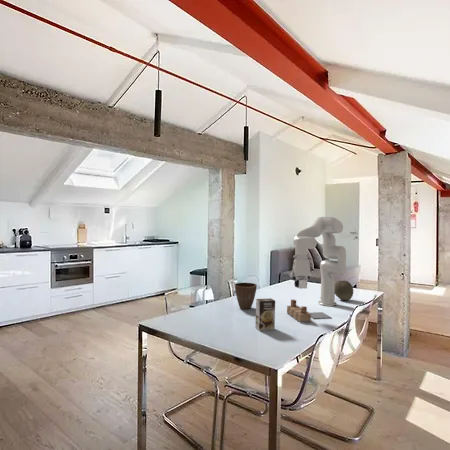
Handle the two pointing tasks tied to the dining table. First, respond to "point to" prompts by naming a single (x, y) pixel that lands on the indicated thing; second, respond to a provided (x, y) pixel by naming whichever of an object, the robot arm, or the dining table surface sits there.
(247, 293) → the plant pot
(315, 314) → the rubber mat
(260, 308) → the coffee box
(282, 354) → the dining table surface
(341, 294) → the cantaloupe
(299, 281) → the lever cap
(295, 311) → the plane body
